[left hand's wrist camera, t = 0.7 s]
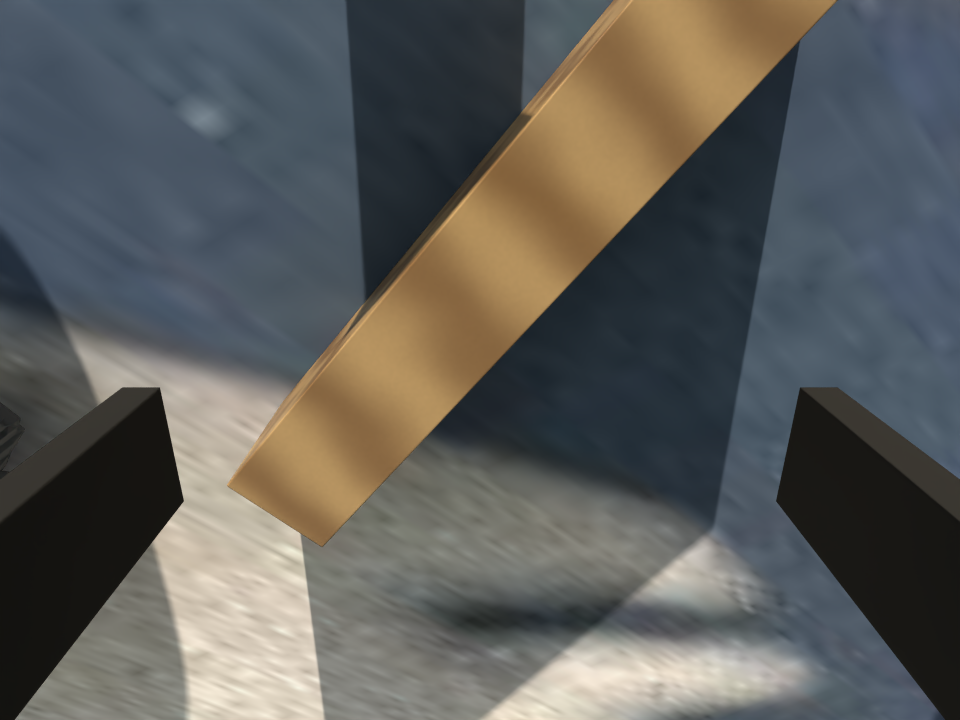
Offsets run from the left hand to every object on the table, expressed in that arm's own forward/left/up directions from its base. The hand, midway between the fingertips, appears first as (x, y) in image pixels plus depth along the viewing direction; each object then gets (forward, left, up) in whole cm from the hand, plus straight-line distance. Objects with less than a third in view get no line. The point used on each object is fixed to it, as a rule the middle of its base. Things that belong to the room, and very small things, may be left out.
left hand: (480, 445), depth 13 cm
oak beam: (0, +3, -22) cm, 22 cm away
